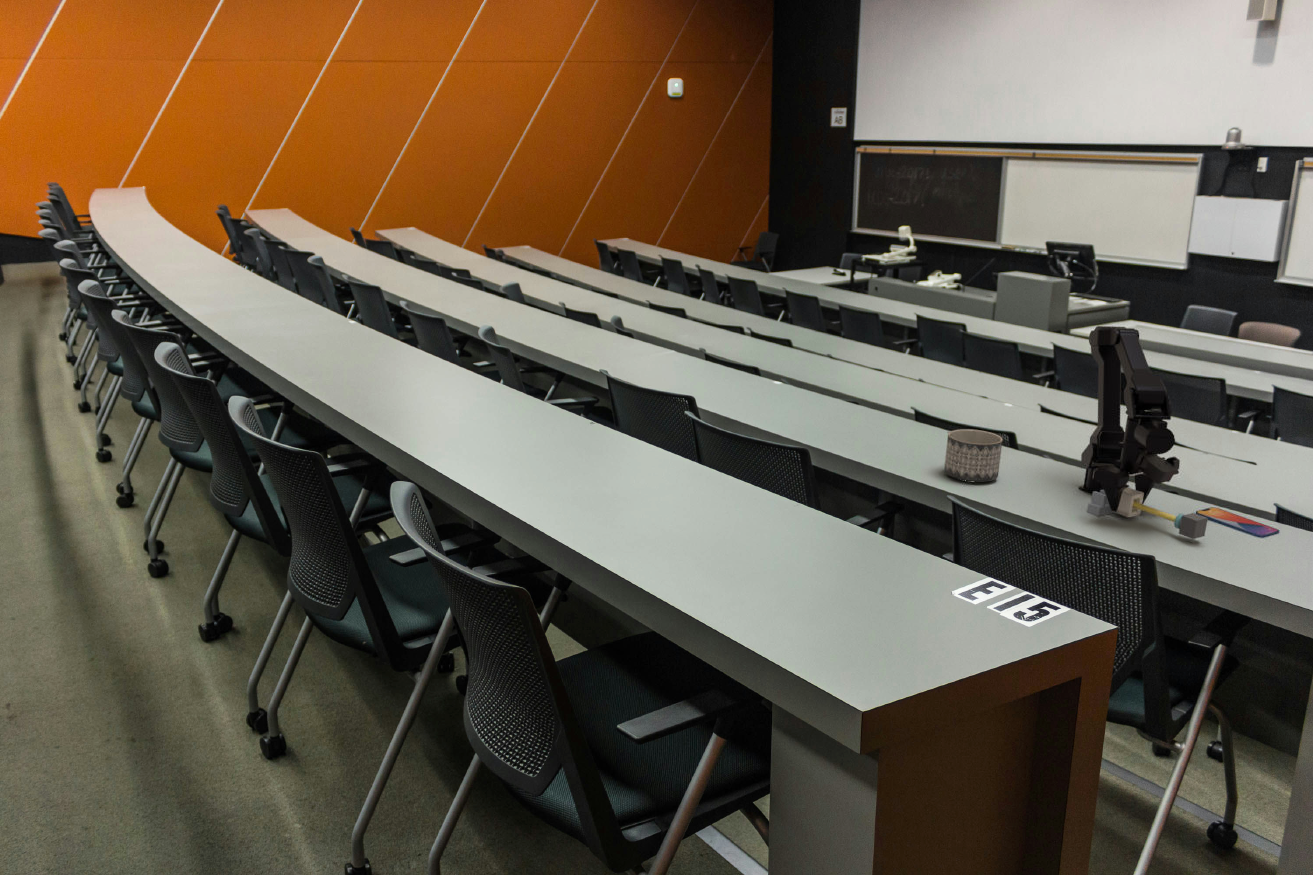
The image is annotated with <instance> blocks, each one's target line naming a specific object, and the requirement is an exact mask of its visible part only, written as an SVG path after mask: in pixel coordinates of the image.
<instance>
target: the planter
mask: <svg viewBox="0 0 1313 875" xmlns="http://www.w3.org/2000/svg"><path fill="white" fill-rule="evenodd" d="M946 440H947V441H946V448H945V450H946V451H945V458H944V459H945V460H944V468H943V470H944V472H945V474H946V475H948V476H949V477H952V478H955V479H957V480H959V479H961V480H960V481H962V480H964V481H963V482H967V481H974V482H973V483H983V482H992V481H994V480H996V479H997V478H998V477H999V471H1000V465H1001V456H1002V455H1001V454H1002V447H1003V441H1004V440H1003V438H1002V436H1000V435H998V434H996V433H993V432H989V431H985V430H979V429H972V428H971V429H968V428H967V429H962V428H961V429H954V430H951V431H949V432H948V433H947V439H946ZM965 480H966V481H965Z"/></svg>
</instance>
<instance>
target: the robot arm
mask: <svg viewBox="0 0 1313 875" xmlns="http://www.w3.org/2000/svg"><path fill="white" fill-rule="evenodd" d="M1088 342H1089V346H1090V354H1091V356H1092V357H1093V358H1094V361H1095V362H1096V363H1097V367H1098V376H1097V377H1098V380H1097V382H1098V383H1097V384H1098V385H1097V386H1098V387H1097V426H1096V427H1095V429H1094V431H1093V432H1092V433H1091V434H1090V437H1089V443H1088V445H1086V447H1085V448H1084V449H1083V451H1082V453H1081V454H1080V455H1081V457H1080V463H1081V464H1082V465H1083V466H1084V467H1085V473H1084V479H1083V480H1084V481H1083V485H1080V486H1078V489H1079V490H1082V491H1083V492H1087V493H1089V494H1092V495H1093V492H1094V491H1096V492H1099V493H1100V490H1104V491H1105V494H1106V496H1107V499H1108V502H1109V505H1110V508H1111V510H1112V511H1114V513H1115V512H1116V511H1117V509H1118V507H1119V503H1120V499H1121V496H1122V492H1123V490H1124V489H1126V488H1130V485H1128V482H1129V481H1130V477H1133V476H1134V486H1135V489H1134V490H1137V491H1140V492H1143V493H1144V496H1143V502H1142V505H1144V503H1145V501H1146V499H1147V498H1148V496H1149V495H1150V492H1151V491H1152V490H1153V488H1154V487H1155V485H1156V484H1158V485H1161V484H1162V483H1169V482H1170V481H1171V480H1172V479H1173V477H1174V475H1178V474H1179V473H1180V472H1179V470H1180V461H1181V460H1180V459H1179V458H1178V457H1176V456H1169V457H1168V458H1166V457H1161V456H1159V455H1163V454H1166V453H1168V452H1169V451H1171V450H1172V448H1174V445H1175V443H1176V438H1175V435H1174V433H1173V431H1172V430H1171V429H1170V428H1168V424H1169V423H1168V421H1170V420H1171V419H1172V416H1171V414H1172V413H1173V411H1172V410H1173V408H1172V405H1171V401H1170V397H1169V393H1168V391H1167V389H1166V387H1165V385H1164V383H1163V381H1162V380H1161V378H1160V377H1159V376H1157V375H1155V374H1154V373H1153V372H1152V371H1151V369H1150V366H1149V364H1148V361H1147V357H1146V356H1145V353H1144V350H1143V347H1142V345H1141V342H1140V331H1139V330H1138V329H1135V328H1130V327H1128V328H1127V327H1125V326H1113V325H1112V326H1107V325H1106V326H1105V325H1097V326H1096V327H1095V328H1094V330H1090V333H1089V336H1088ZM1122 371H1123V374H1124V376H1125V380H1126V387H1125V388H1124V391H1123V400H1124V404H1125V407H1126V410H1125V414H1126V415H1127V417H1126V422H1125V428H1124V429H1123V428H1122V426H1121V401H1122V400H1121V397H1122V396H1121V393H1122V392H1121V389H1122V388H1121V387H1122V384H1121V383H1122V381H1121V380H1122V375H1121V374H1122Z"/></svg>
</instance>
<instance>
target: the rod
mask: <svg viewBox="0 0 1313 875" xmlns="http://www.w3.org/2000/svg"><path fill="white" fill-rule="evenodd" d="M1133 507H1134V508H1137V509H1140V510H1141V511H1143V512H1145V513H1148V514H1152V515H1154V516H1157V517H1160V518H1162V519H1164V520H1168V521H1170V522H1173V523H1174V521H1175V519H1176V517H1177V515H1176V516H1175V515H1172V514H1170V513H1168V512H1164V511H1162V510H1159V509H1156V508H1153V507H1150V506H1148V505H1144V504H1143V505H1142V504H1140V503H1137V502H1133Z"/></svg>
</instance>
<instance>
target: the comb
mask: <svg viewBox="0 0 1313 875" xmlns="http://www.w3.org/2000/svg"><path fill="white" fill-rule="evenodd" d="M1090 501H1091V502H1088V503H1087V509H1086V513H1089V514H1092V515H1094V516H1096V517H1101V516H1104V515H1109V514H1113V513H1115V512H1113V511H1112V510H1111V508H1110V505H1109V502H1108V499H1107V496H1106V494H1105V491H1104V490H1100V493H1099V492H1096V491H1094V492H1093V494H1092V495H1091V500H1090Z"/></svg>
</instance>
